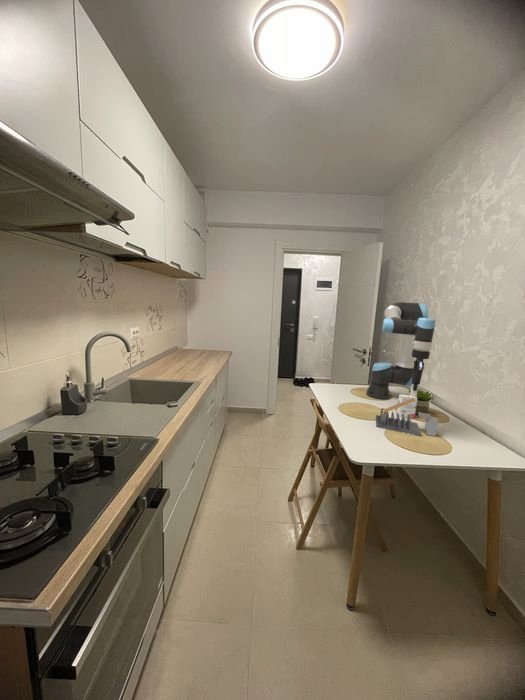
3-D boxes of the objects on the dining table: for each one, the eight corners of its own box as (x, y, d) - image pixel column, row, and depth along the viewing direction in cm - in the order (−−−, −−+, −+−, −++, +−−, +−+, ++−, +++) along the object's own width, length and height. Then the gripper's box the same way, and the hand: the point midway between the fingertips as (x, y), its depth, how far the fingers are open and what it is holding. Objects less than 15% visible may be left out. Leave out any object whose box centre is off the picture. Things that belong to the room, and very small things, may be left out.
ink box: (410, 414, 164) (414, 395, 162) (414, 418, 159) (418, 398, 157) (395, 413, 164) (398, 393, 162) (398, 416, 159) (402, 396, 157)
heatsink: (375, 418, 154) (377, 406, 153) (416, 426, 147) (418, 414, 146) (376, 426, 143) (378, 413, 142) (420, 436, 136) (422, 422, 135)
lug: (415, 428, 144) (418, 411, 143) (433, 432, 142) (436, 415, 140) (416, 432, 140) (420, 415, 138) (435, 436, 137) (438, 418, 135)
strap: (383, 411, 148) (381, 409, 148) (414, 399, 142) (412, 397, 142) (383, 414, 145) (381, 411, 145) (415, 402, 139) (413, 399, 139)
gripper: (410, 347, 144) (403, 391, 148) (414, 350, 132) (406, 398, 136) (427, 349, 141) (419, 394, 145) (432, 352, 129) (423, 401, 133)
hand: (413, 396), depth 140 cm, fingers closed
